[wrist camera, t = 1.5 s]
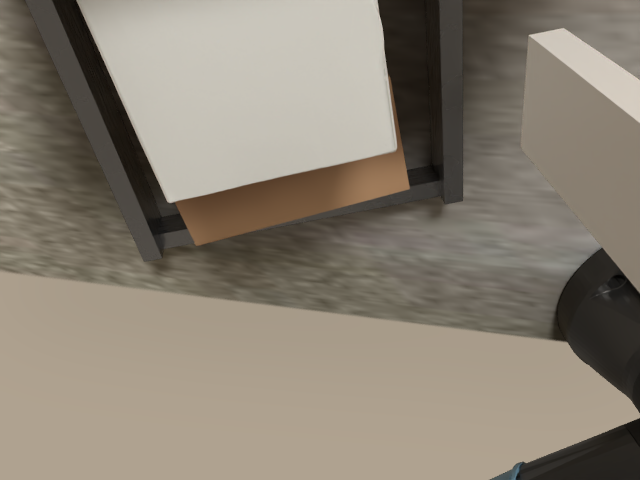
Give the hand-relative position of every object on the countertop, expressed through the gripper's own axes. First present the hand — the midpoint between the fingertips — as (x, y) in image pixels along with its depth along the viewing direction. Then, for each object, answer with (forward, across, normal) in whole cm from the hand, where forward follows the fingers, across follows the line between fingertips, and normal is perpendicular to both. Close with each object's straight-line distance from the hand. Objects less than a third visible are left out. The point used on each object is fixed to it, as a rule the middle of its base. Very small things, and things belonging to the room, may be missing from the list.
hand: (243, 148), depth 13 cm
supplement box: (+21, 0, 0) cm, 21 cm away
